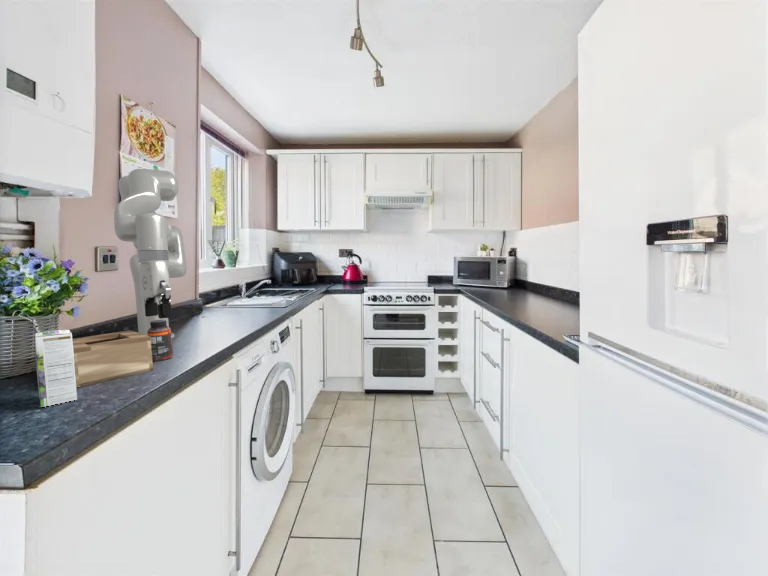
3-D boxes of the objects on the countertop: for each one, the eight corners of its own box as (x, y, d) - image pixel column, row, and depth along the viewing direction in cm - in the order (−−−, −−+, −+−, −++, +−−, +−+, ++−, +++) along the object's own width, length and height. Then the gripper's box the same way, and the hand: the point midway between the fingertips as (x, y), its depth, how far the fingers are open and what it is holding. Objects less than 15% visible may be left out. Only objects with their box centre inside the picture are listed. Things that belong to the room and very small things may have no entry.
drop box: (60, 375, 94) (57, 341, 94) (133, 361, 107) (130, 330, 106) (75, 388, 85) (71, 349, 84) (153, 370, 97) (150, 336, 96)
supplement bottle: (166, 355, 113) (163, 318, 112) (177, 357, 110) (174, 319, 109) (145, 360, 108) (142, 321, 107) (156, 362, 105) (153, 323, 104)
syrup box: (39, 401, 77) (32, 332, 76) (76, 393, 82) (69, 328, 80) (40, 409, 73) (32, 336, 72) (79, 400, 77) (72, 331, 76)
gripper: (128, 258, 109) (133, 316, 110) (150, 256, 98) (155, 320, 99) (156, 258, 114) (160, 313, 116) (180, 256, 104) (185, 316, 105)
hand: (158, 316), depth 107 cm, fingers open, 9 cm apart
